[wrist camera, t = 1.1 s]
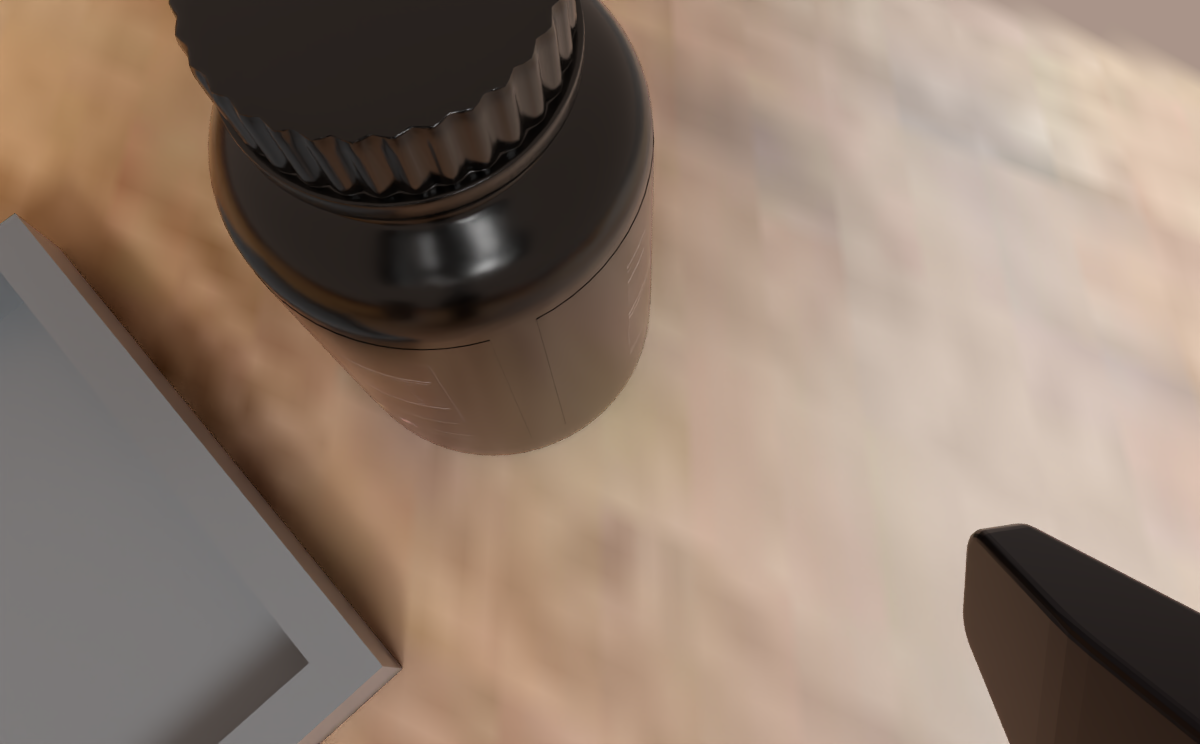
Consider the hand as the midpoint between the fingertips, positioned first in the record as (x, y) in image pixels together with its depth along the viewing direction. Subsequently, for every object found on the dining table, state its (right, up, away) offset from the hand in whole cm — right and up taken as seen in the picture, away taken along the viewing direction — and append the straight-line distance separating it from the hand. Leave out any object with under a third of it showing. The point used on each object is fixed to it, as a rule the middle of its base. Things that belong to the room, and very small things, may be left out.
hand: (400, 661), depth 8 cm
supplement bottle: (-1, +3, +16) cm, 16 cm away
